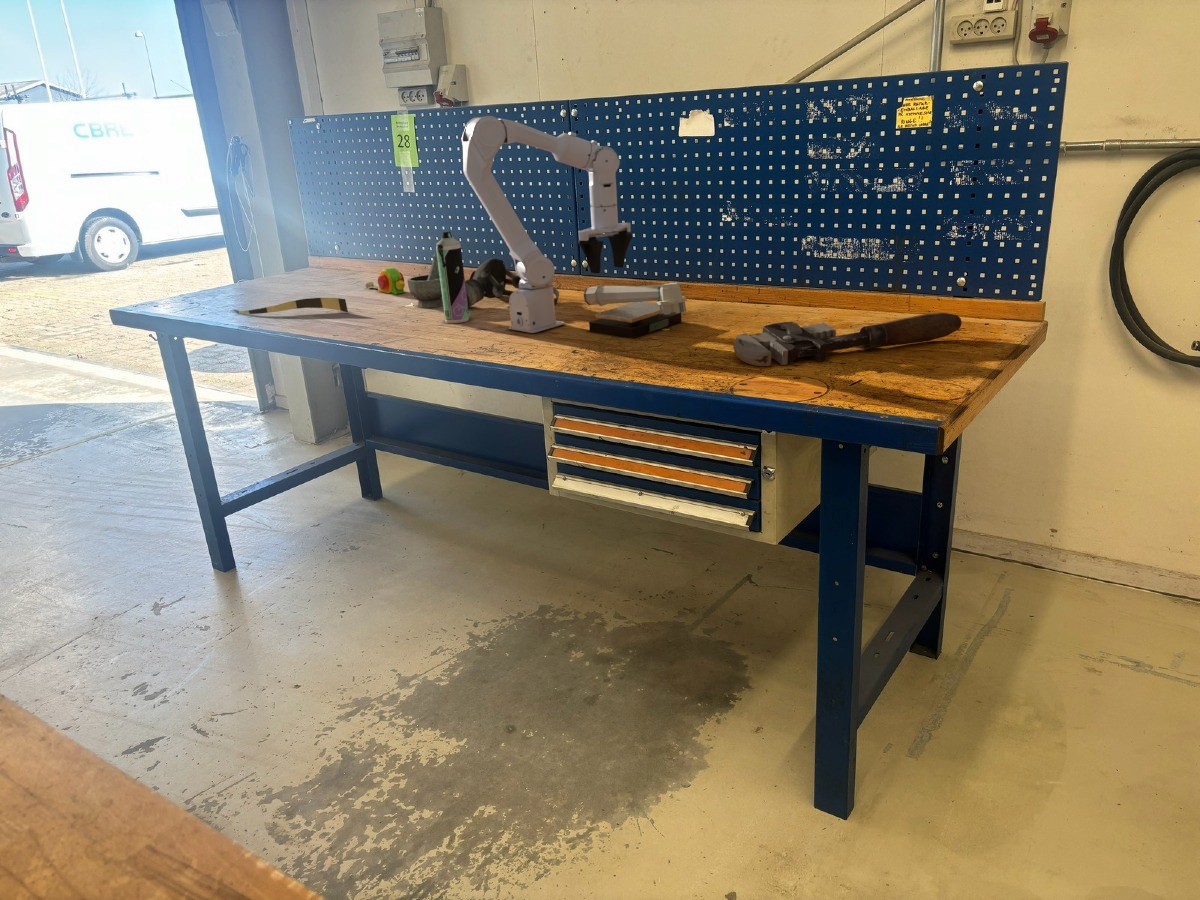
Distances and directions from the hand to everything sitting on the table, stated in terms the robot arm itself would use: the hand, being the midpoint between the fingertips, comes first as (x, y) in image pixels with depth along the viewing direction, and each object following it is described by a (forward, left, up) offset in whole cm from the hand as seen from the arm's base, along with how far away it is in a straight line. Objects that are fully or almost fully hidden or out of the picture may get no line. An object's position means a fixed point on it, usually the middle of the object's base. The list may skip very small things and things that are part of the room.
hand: (607, 269), depth 186 cm
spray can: (-19, +30, -11) cm, 37 cm away
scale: (-4, -11, -10) cm, 16 cm away
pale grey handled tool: (-4, -11, -7) cm, 14 cm away
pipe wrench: (+1, -56, -11) cm, 57 cm away
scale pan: (-4, -11, -8) cm, 15 cm away
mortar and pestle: (-10, +51, -11) cm, 53 cm away
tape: (-34, +81, -11) cm, 89 cm away
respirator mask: (+1, +33, -11) cm, 34 cm away
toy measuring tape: (-4, +80, -11) cm, 80 cm away
